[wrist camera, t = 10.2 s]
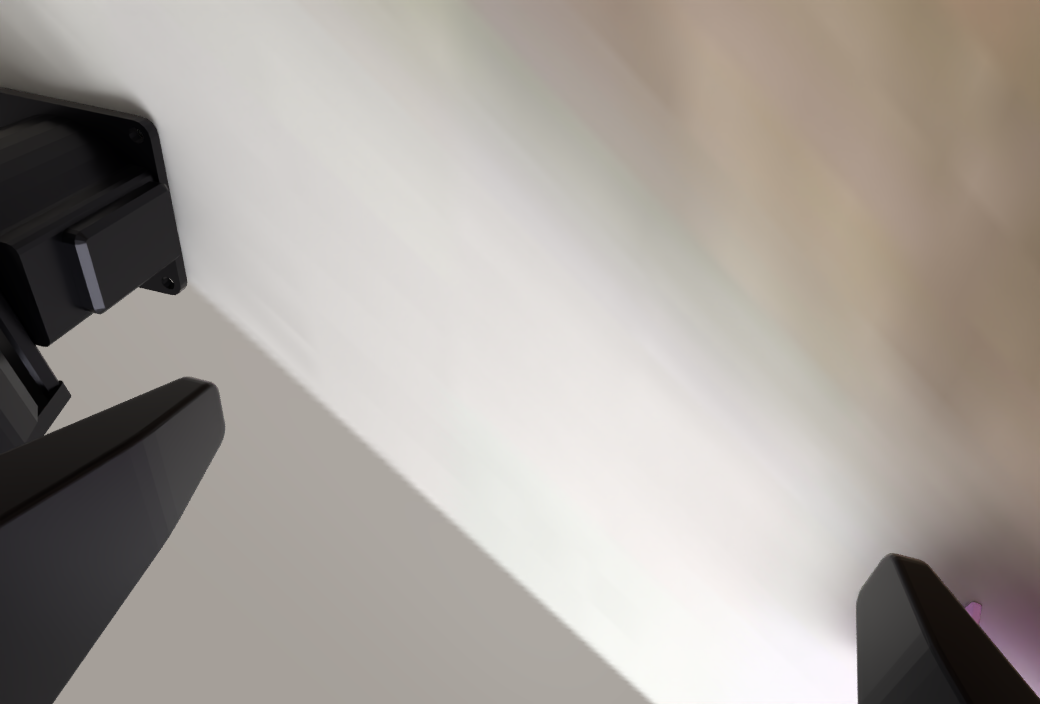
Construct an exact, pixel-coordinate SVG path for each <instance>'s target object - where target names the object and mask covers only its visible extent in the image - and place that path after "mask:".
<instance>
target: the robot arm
mask: <svg viewBox="0 0 1040 704" xmlns="http://www.w3.org/2000/svg"><path fill="white" fill-rule="evenodd" d="M137 129H138V130H139V131H140V132H141V133H142V135H143V137H144V139H143V138H142V137H141V136H140V135H139V134H138V131H137ZM169 278H170V279H171V280H172V281H173V282H174V283H173V282H172V281H171V280H170V279H169ZM186 286H187V277H186V272H185V267H184V262H183V257H182V252H181V247H180V242H179V237H178V232H177V227H176V221H175V216H174V211H173V206H172V201H171V196H170V191H169V186H168V181H167V176H166V170H165V165H164V160H163V155H162V150H161V145H160V140H159V135H158V132H157V129H156V128H155V126H154V125H153V123H152V122H150V121H149V120H148V119H146V118H144V117H141V116H137V115H132V114H127V113H122V112H118V111H113V110H108V109H103V108H98V107H94V106H89V105H84V104H79V103H74V102H69V101H65V100H60V99H55V98H50V97H45V96H40V95H36V94H31V93H26V92H21V91H16V90H12V89H7V88H2V87H0V704H53V702H54V701H55V700H56V698H57V697H58V695H59V694H60V692H61V691H62V689H63V688H64V687H65V685H66V684H67V682H68V681H69V680H70V678H71V677H72V675H73V674H74V672H75V671H76V670H77V668H78V667H79V665H80V664H81V662H82V661H83V660H84V658H85V657H86V655H87V654H88V652H89V651H90V649H91V648H92V647H93V645H94V643H95V642H96V641H97V640H98V638H99V637H100V635H101V634H102V632H103V631H104V630H105V628H106V627H107V625H108V624H109V622H110V621H111V620H112V618H113V617H114V615H115V614H116V612H117V611H118V609H119V608H120V607H121V605H122V604H123V602H124V601H125V599H126V598H127V597H128V595H129V594H130V592H131V591H132V589H133V588H134V586H135V585H136V584H137V582H138V581H139V580H140V578H141V577H142V575H143V574H144V572H145V571H146V570H147V568H148V566H149V565H150V564H151V562H152V561H153V560H154V558H155V557H156V555H157V554H158V552H159V551H160V550H161V548H162V547H163V545H164V543H165V542H166V541H167V539H168V538H169V536H170V534H171V533H172V531H173V529H174V528H175V526H176V524H177V523H178V521H179V519H180V517H181V516H182V514H183V512H184V510H185V508H186V507H187V505H188V503H189V501H190V499H191V497H192V495H193V494H194V492H195V490H196V488H197V486H198V485H199V483H200V481H201V479H202V477H203V476H204V474H205V472H206V470H207V468H208V466H209V465H210V463H211V461H212V459H213V458H214V456H215V454H216V452H217V450H218V448H219V447H220V445H221V443H222V440H223V438H224V433H225V421H224V416H223V411H222V405H221V400H220V395H219V390H218V388H217V386H216V385H215V384H214V383H212V382H209V381H205V380H201V379H197V378H193V377H183V378H181V379H178V380H175V381H173V382H170V383H168V384H166V385H163V386H161V387H159V388H156V389H154V390H151V391H149V392H147V393H144V394H142V395H139V396H137V397H135V398H132V399H130V400H128V401H125V402H123V403H120V404H118V405H116V406H113V407H111V408H109V409H106V410H104V411H101V412H99V413H97V414H94V415H92V416H90V417H88V418H85V419H83V420H80V421H78V422H75V423H73V424H71V425H68V426H66V427H63V428H61V429H59V430H56V431H54V432H52V433H50V434H47V435H45V436H44V434H45V433H46V432H47V430H48V429H49V427H50V426H51V425H52V423H53V422H54V420H55V419H56V417H57V416H58V415H59V413H60V412H61V410H62V409H63V408H64V406H65V405H66V403H67V402H68V401H69V399H70V398H71V394H70V393H69V391H68V390H67V388H66V386H65V385H64V383H63V382H62V381H58V380H57V378H56V377H55V375H54V373H53V372H52V370H51V369H50V367H49V366H48V364H47V362H46V361H45V359H44V358H43V356H42V355H41V353H40V351H39V350H38V348H37V347H36V345H39V346H43V347H48V346H49V345H50V344H52V343H53V342H55V341H56V340H57V339H59V338H60V337H62V336H63V335H64V334H66V333H67V332H68V331H69V330H71V329H72V328H74V327H75V326H77V325H78V324H79V323H81V322H82V321H83V320H85V319H86V318H87V317H89V316H90V315H92V314H93V313H97V314H102V313H104V312H105V311H107V310H108V309H110V308H111V307H112V306H113V305H115V304H116V303H118V302H119V301H120V300H122V299H123V298H124V297H126V296H127V295H128V294H129V293H131V292H132V291H133V290H135V289H136V288H138V287H140V288H144V289H149V290H153V291H157V292H161V293H165V294H170V295H176V294H178V293H180V292H181V291H182V290H183V289H185V287H186ZM856 635H857V690H858V704H1040V698H1039V697H1038V696H1037V695H1036V694H1035V692H1034V691H1033V690H1032V689H1031V688H1030V686H1029V685H1028V684H1027V683H1026V682H1025V680H1024V679H1023V678H1022V677H1021V676H1020V674H1019V673H1018V672H1017V671H1016V669H1015V668H1014V667H1013V666H1012V665H1011V663H1010V662H1009V661H1008V660H1007V659H1006V657H1005V656H1004V655H1003V654H1002V653H1001V651H1000V650H999V649H998V648H997V647H996V645H995V644H994V643H993V642H992V641H991V639H990V638H989V637H988V636H987V635H986V633H985V632H984V631H983V630H982V629H981V627H980V626H979V625H978V624H977V623H976V621H975V620H974V619H973V618H972V617H971V615H970V614H969V613H968V612H967V611H966V609H965V608H964V607H963V606H962V605H961V603H960V602H959V601H958V600H957V599H956V597H955V596H954V595H953V594H952V593H951V591H950V590H949V589H948V588H947V587H946V585H945V584H944V583H943V582H942V581H941V579H940V578H939V577H938V576H937V575H936V573H935V572H934V571H933V570H932V569H931V567H930V566H929V565H928V564H926V563H925V562H923V561H921V560H919V559H915V558H911V557H907V556H903V555H899V554H895V553H890V554H888V555H886V556H885V557H884V558H883V559H882V560H881V561H880V563H879V564H878V566H877V567H876V568H875V570H874V571H873V573H872V574H871V576H870V577H869V578H868V580H867V581H866V583H865V584H864V585H863V587H862V588H861V590H860V592H859V595H858V598H857V603H856Z"/></svg>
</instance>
